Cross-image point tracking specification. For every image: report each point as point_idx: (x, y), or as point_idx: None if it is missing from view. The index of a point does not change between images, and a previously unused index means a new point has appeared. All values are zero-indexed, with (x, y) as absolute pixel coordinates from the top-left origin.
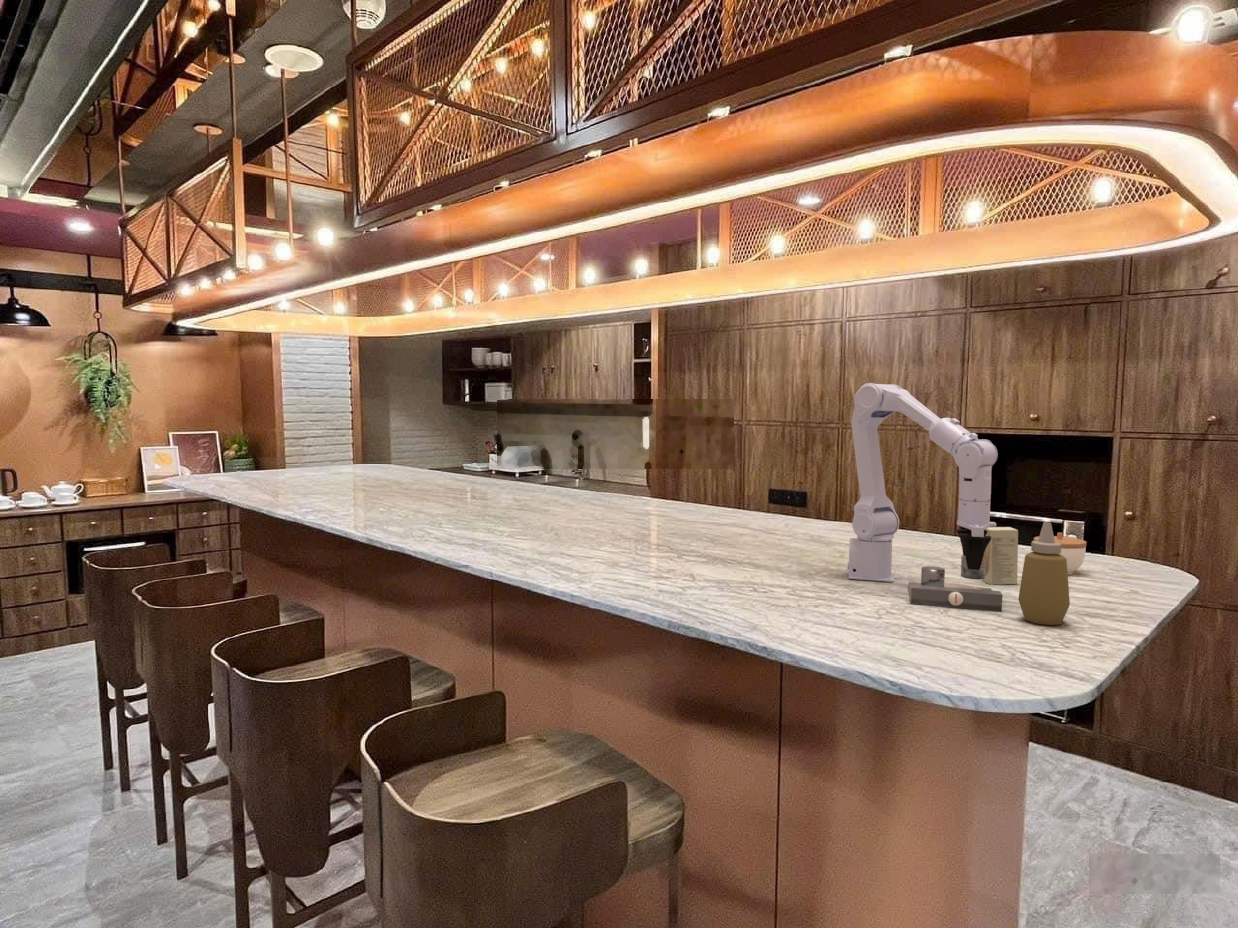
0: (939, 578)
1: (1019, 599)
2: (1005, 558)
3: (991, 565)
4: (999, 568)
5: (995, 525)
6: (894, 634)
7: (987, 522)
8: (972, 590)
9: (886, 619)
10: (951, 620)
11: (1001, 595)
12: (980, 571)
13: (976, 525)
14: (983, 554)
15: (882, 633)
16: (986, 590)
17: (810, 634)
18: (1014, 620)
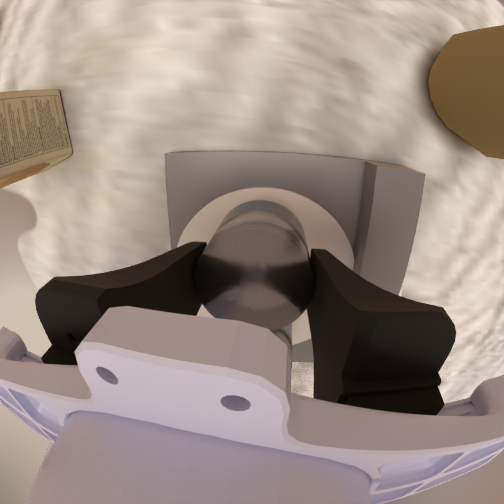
0: (288, 336)
1: (493, 157)
2: (12, 123)
3: (35, 157)
4: (37, 134)
5: (280, 353)
6: (500, 357)
7: (328, 476)
8: (382, 254)
9: (449, 375)
10: (469, 293)
11: (424, 176)
12: (303, 236)
13: (452, 472)
14: (361, 277)
15: (494, 368)
16: (375, 210)
17: None
18: (467, 162)
